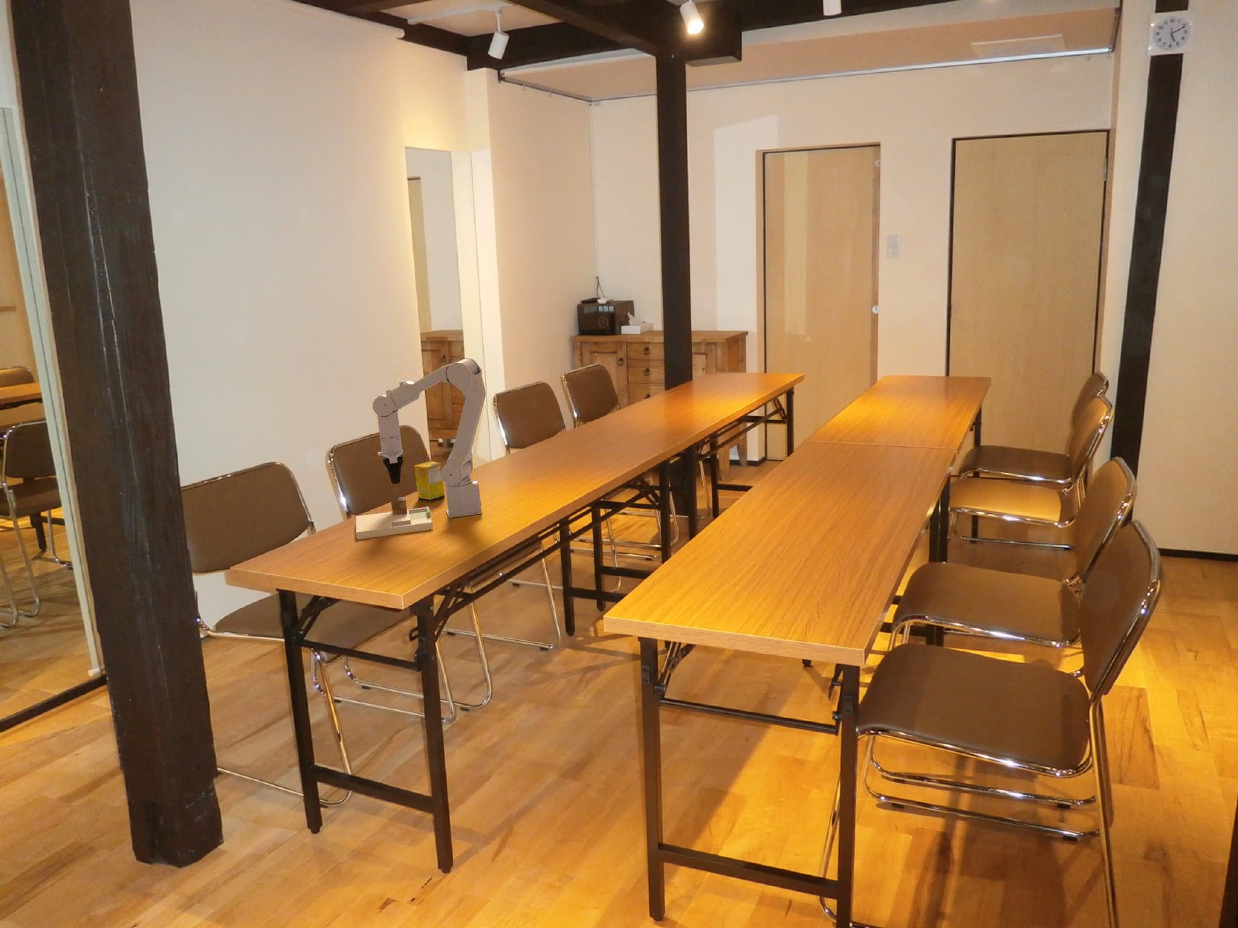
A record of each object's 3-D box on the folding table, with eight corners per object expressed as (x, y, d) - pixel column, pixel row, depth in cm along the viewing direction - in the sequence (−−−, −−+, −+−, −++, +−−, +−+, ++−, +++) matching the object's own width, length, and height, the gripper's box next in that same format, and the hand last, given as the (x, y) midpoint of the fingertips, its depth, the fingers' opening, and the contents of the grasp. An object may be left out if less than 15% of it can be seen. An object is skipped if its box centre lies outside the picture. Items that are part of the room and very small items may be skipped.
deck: (428, 513, 280) (427, 501, 279) (432, 529, 264) (431, 516, 263) (357, 523, 275) (355, 510, 274) (357, 539, 259) (355, 526, 259)
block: (406, 510, 277) (405, 496, 276) (407, 513, 274) (405, 499, 273) (392, 511, 276) (390, 498, 275) (392, 515, 273) (391, 501, 272)
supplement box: (432, 495, 300) (428, 460, 298) (445, 497, 297) (441, 462, 294) (417, 500, 296) (413, 465, 293) (430, 502, 292) (426, 467, 290)
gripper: (375, 433, 282) (381, 478, 285) (376, 442, 268) (382, 490, 272) (400, 430, 284) (405, 475, 287) (402, 439, 270) (407, 486, 273)
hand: (395, 482), depth 279 cm, fingers closed
